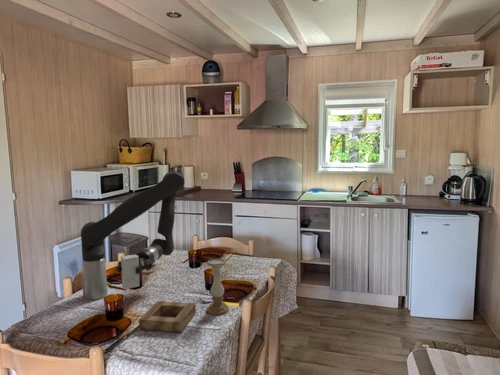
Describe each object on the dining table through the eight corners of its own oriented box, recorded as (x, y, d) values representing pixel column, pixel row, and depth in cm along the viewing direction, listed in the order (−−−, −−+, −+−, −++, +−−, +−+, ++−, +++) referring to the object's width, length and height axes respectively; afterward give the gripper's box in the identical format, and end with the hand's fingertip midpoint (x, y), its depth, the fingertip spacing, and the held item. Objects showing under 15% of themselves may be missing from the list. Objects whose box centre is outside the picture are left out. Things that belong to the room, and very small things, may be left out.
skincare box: (124, 289, 143) (123, 259, 141) (121, 286, 147) (120, 256, 145) (140, 286, 146) (139, 256, 145) (137, 282, 150) (135, 253, 148)
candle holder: (232, 307, 152) (230, 259, 150) (223, 316, 144) (222, 265, 142) (212, 304, 155) (211, 257, 153) (203, 313, 147) (201, 263, 145)
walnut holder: (139, 329, 134) (138, 319, 134) (158, 310, 150) (157, 301, 150) (181, 333, 131) (180, 322, 131) (195, 313, 147) (195, 303, 147)
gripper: (130, 248, 160) (109, 260, 144) (161, 249, 158) (144, 261, 142) (131, 265, 161) (111, 278, 145) (162, 266, 159) (145, 280, 143)
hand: (127, 270), depth 143 cm, fingers closed on skincare box, 7 cm apart
